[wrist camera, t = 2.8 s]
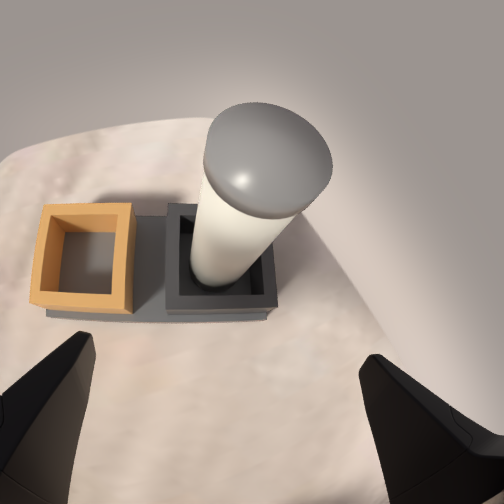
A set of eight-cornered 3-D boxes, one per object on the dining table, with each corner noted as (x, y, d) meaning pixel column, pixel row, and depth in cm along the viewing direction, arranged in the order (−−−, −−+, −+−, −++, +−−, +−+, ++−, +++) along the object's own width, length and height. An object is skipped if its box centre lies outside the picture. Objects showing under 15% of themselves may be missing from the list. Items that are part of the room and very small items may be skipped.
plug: (248, 285, 20) (352, 191, 8) (197, 300, 18) (232, 217, 7) (231, 236, 21) (300, 101, 9) (181, 249, 19) (193, 107, 7)
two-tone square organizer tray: (255, 224, 23) (270, 201, 19) (262, 320, 20) (281, 315, 17) (61, 221, 18) (43, 198, 15) (51, 317, 16) (26, 310, 12)
